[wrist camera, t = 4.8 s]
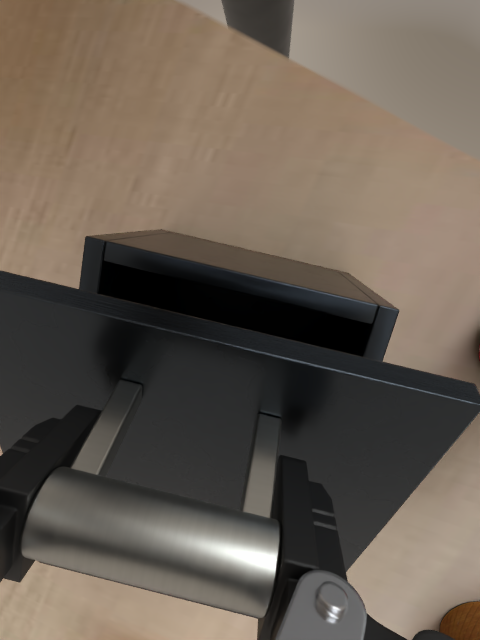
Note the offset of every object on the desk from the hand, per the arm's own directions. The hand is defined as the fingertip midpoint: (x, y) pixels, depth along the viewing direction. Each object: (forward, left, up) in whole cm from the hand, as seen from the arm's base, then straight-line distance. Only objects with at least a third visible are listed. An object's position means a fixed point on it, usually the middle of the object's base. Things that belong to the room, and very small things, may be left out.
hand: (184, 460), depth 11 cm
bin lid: (+4, +1, -4) cm, 5 cm away
